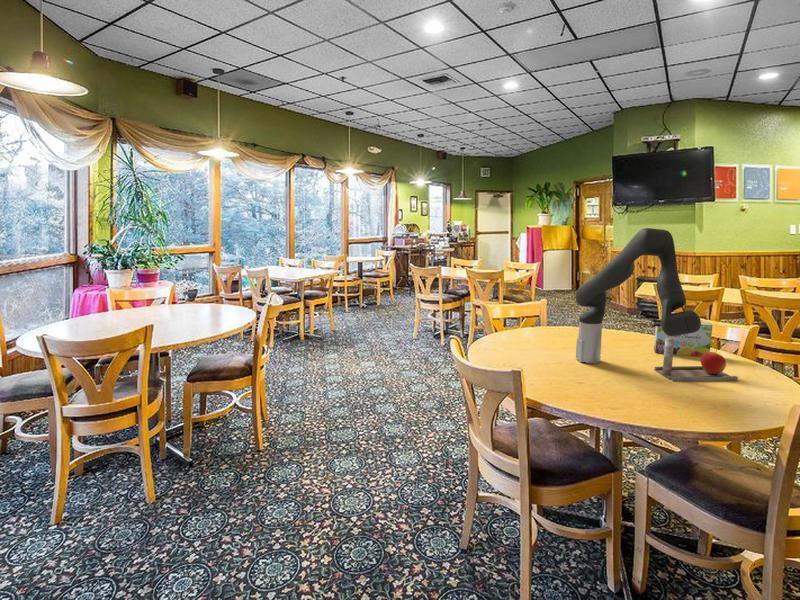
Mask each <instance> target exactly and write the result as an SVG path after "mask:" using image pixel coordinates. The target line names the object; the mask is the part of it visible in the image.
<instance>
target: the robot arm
mask: <svg viewBox="0 0 800 600" xmlns="http://www.w3.org/2000/svg"><path fill="white" fill-rule="evenodd" d="M675 247H676V246H675V241H674V237H673V235H672V233H671V232H670V231H669V230H665V229H661V228H660V229H659V228H653V227H651V228H649V227H647V228H646V227H645V228H641V229H640V230H639V231H637V232H636V234H635V235H633V237H632V238H631V239H630V241H628V243H627V244H626V245H625V246H624V247H623V248H622V250H621V251H619V252H618V254H617V255H615V257H613V259H610V261H609V262H608V263H607V264H606V265H605V266H603V268H602V269H601V270H600V271H598V272H597V273H596V274H595V275H594V276H593V277H591V278H590V279H589V280H588V281H586V282H585V283H583V284H581V285H580V286H579V287H578V288H577V289H576V293H575V295H574V296H575V302H576V304H578V305H579V306H580V307H585V308H589V309H588V310H586V311H585V312H583V313H581V314H579V320H578V337H577V338H576V346H575V347H576V348H575V359H576V358H577V359H578V360H579V361H580V362H579V361H578V360H577V359H576V360H577V361H578V362H579V363H581V362H586V363H585V364H599V363H601V352H602V351H601V350H602V333H603V332H602V331H603V320H604V317H605V312H606V303H607V291H610V290H611V289H615V288H616V287H619V286H620V285H622V284H623V283H625V282H626V281H627V280H628V279H629V278H630V277H632V275H634V271H635V261H636V260H637V259H638V258H640V257H642V256H653V257H658V259H659V261H660V263H661V267H660V271H659V274H658V277H657V279H656V291H657V294H658V297H659V300H660V305H661V318H659V319H660V320H657V319H651V320H650V327H651V328H656V326H657V327H659V326H660V328H662V330H663V332H664V333H665V334H666V335H668V336H678V335H683V334H688V333H694V332H697V331H698V330H699V329H700V327H701V322H702V321H701V318H700V316H699V315H698V313H697V312H695V311H694V310H684V311H678V312H674V311H676V310H678V309H681V308H683V307H684V306H685V305H686V303H687V299H686V296H685V293H684V289H683V286H682V284H681V281H680V276H679V272H678V262H677V255H676V248H675Z"/></svg>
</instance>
